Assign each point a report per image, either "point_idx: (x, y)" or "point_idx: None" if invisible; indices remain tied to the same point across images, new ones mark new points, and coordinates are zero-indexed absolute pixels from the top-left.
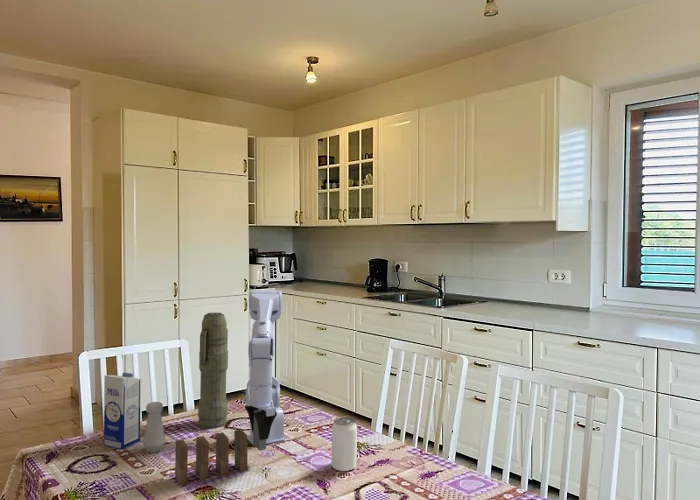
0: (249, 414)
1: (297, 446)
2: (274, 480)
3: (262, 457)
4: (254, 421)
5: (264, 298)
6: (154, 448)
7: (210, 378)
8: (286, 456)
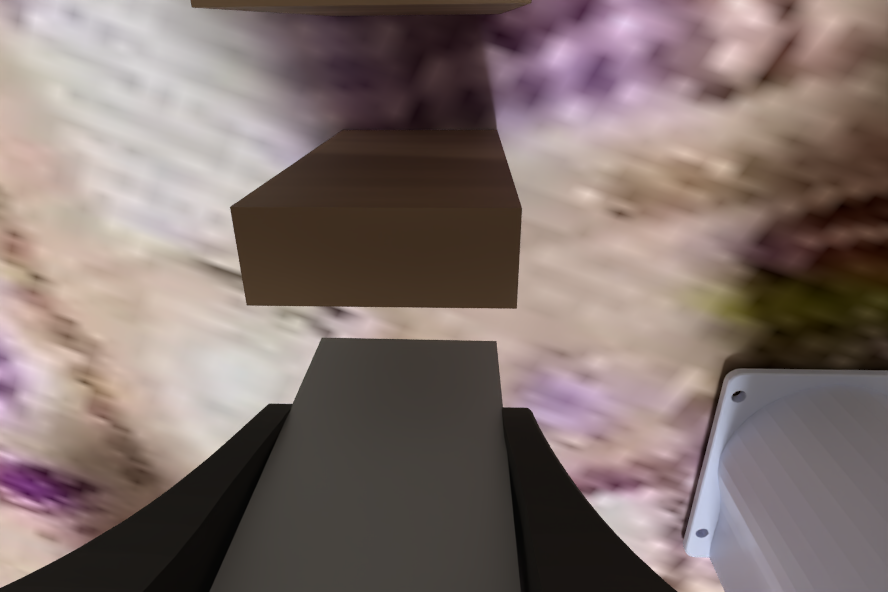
0: (540, 572)
1: None
2: (134, 293)
3: (516, 350)
4: (473, 524)
5: None
6: None
7: None
8: None
